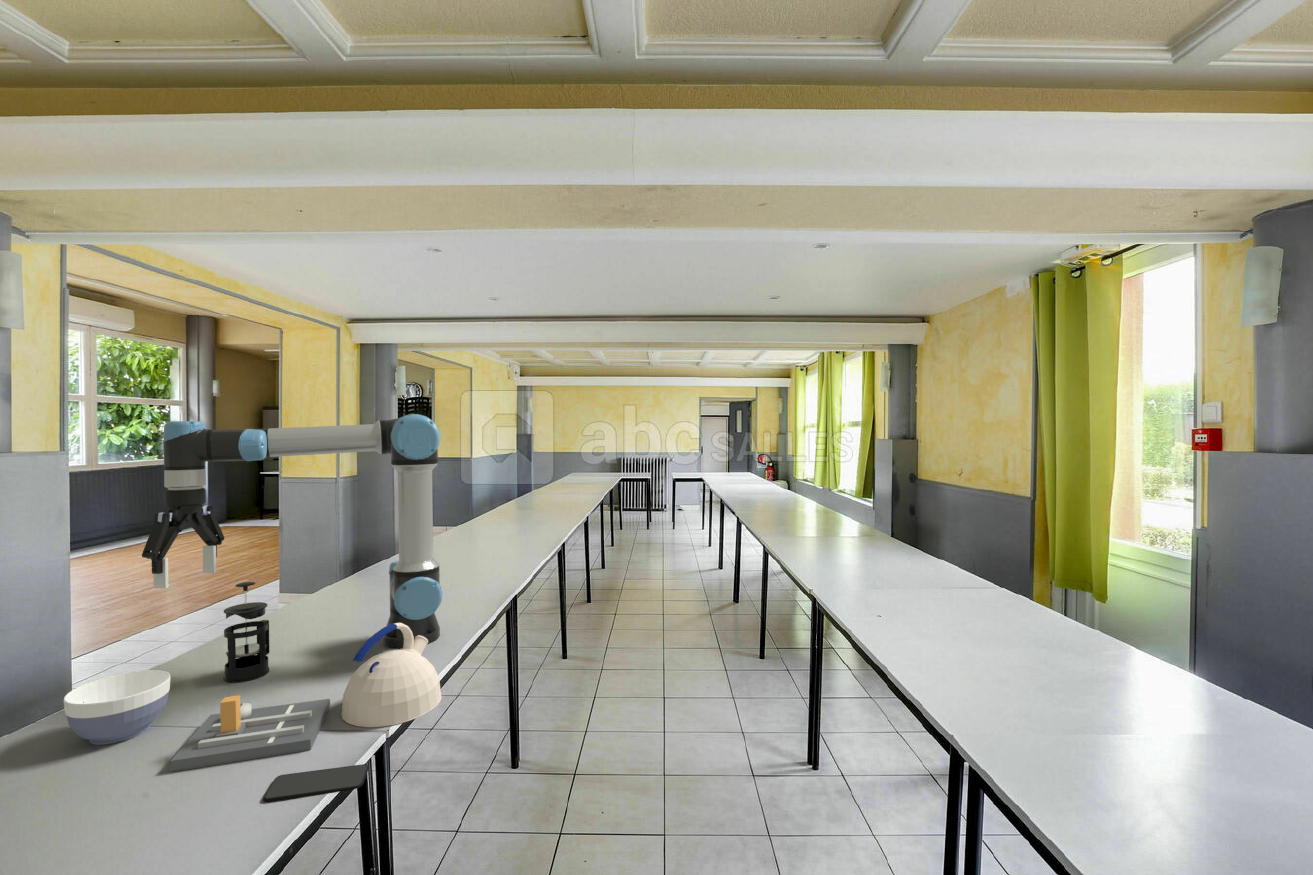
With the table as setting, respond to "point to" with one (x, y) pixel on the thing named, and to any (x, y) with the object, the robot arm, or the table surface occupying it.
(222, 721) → the fader tab
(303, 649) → the table surface
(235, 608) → the french press
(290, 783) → the smartphone
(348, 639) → the table surface
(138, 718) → the bowl
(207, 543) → the robot arm
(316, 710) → the console board
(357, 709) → the kettle
